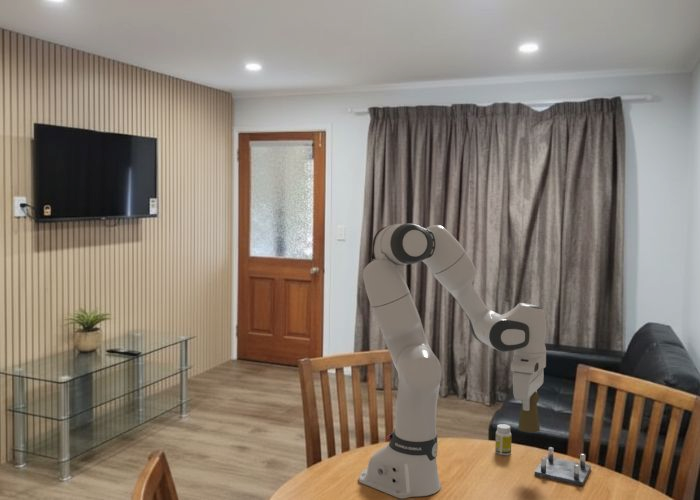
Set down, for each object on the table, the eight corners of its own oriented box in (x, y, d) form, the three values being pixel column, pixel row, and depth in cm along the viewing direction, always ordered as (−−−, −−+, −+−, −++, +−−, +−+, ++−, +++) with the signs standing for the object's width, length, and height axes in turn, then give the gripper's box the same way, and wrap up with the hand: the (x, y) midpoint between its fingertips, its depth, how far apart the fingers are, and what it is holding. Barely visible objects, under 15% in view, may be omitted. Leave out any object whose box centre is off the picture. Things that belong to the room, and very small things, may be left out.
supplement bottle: (513, 451, 192) (513, 425, 191) (508, 456, 188) (509, 430, 188) (498, 448, 195) (498, 422, 194) (493, 453, 191) (493, 426, 190)
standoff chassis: (534, 475, 175) (534, 459, 175) (545, 459, 186) (545, 444, 186) (582, 486, 168) (583, 469, 168) (590, 469, 180) (591, 453, 179)
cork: (541, 433, 174) (541, 394, 173) (519, 431, 175) (519, 393, 174) (538, 425, 180) (539, 388, 179) (517, 424, 181) (517, 387, 180)
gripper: (528, 351, 187) (527, 395, 188) (508, 366, 169) (508, 415, 170) (549, 353, 183) (548, 398, 184) (532, 369, 166) (531, 419, 167)
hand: (529, 407), depth 177 cm, fingers closed on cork, 4 cm apart
